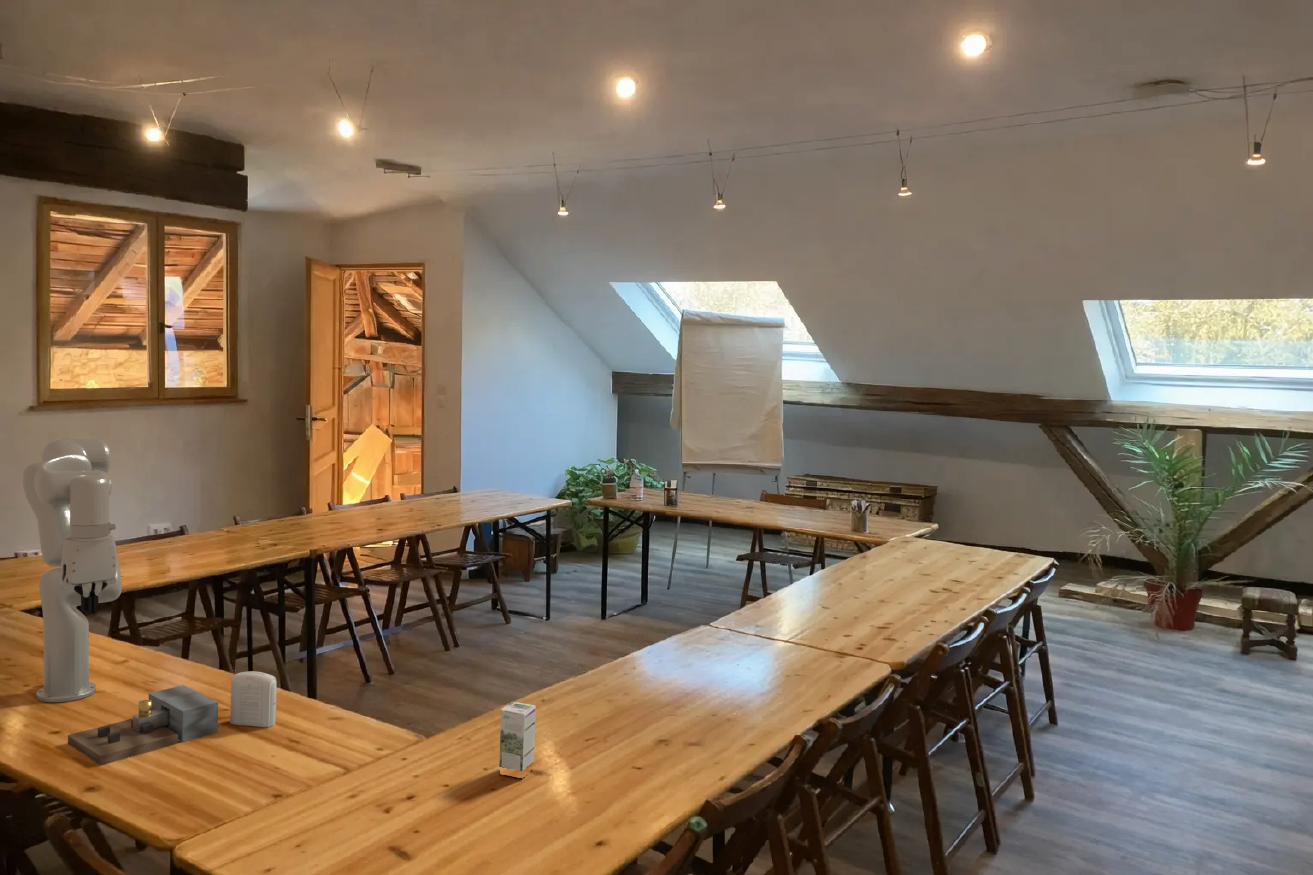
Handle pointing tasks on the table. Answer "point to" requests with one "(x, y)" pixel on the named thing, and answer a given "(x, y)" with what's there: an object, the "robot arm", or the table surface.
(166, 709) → the bolt
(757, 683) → the table surface
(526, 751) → the syrup box
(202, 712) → the frame
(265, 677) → the photo printer
